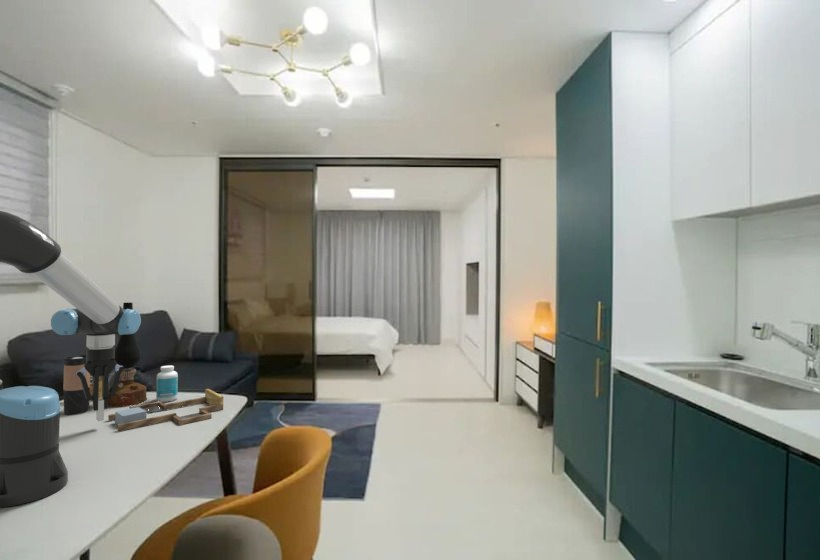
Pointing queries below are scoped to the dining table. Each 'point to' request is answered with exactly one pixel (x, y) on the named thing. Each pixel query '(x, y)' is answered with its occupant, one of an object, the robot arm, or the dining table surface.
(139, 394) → the oil lamp
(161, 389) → the pill bottle
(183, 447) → the dining table surface
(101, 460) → the dining table surface
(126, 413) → the slate block
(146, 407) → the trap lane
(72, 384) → the travel mug
